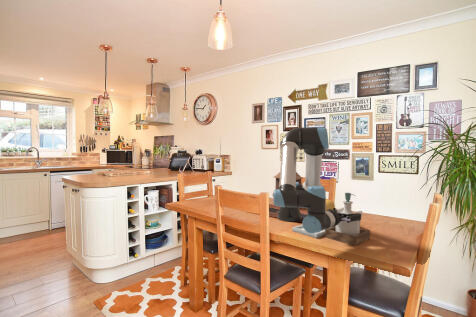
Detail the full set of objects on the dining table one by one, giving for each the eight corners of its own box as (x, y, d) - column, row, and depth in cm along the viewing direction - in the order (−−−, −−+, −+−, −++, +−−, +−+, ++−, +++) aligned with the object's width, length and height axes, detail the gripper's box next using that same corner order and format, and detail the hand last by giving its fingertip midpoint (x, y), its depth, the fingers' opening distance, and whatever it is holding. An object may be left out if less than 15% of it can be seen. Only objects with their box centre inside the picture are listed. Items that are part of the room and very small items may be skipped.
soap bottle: (361, 241, 122) (362, 194, 121) (341, 241, 122) (341, 194, 122) (352, 234, 132) (353, 191, 131) (334, 234, 132) (334, 191, 131)
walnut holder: (324, 237, 128) (325, 229, 128) (340, 231, 138) (340, 223, 138) (355, 245, 116) (355, 237, 116) (369, 238, 126) (369, 230, 126)
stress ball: (336, 215, 175) (335, 204, 183) (334, 206, 170) (333, 195, 177) (321, 216, 179) (320, 205, 186) (319, 208, 173) (318, 196, 180)
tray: (292, 230, 138) (292, 227, 138) (308, 225, 147) (308, 222, 147) (316, 238, 126) (316, 234, 126) (332, 232, 136) (332, 228, 136)
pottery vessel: (276, 209, 191) (276, 169, 190) (269, 202, 216) (269, 167, 215) (309, 208, 193) (310, 169, 192) (298, 202, 218) (299, 167, 218)
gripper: (308, 222, 123) (332, 214, 138) (351, 233, 107) (373, 223, 121) (308, 206, 123) (332, 201, 138) (351, 215, 107) (374, 208, 121)
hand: (351, 211), depth 130 cm, fingers closed on soap bottle, 9 cm apart
